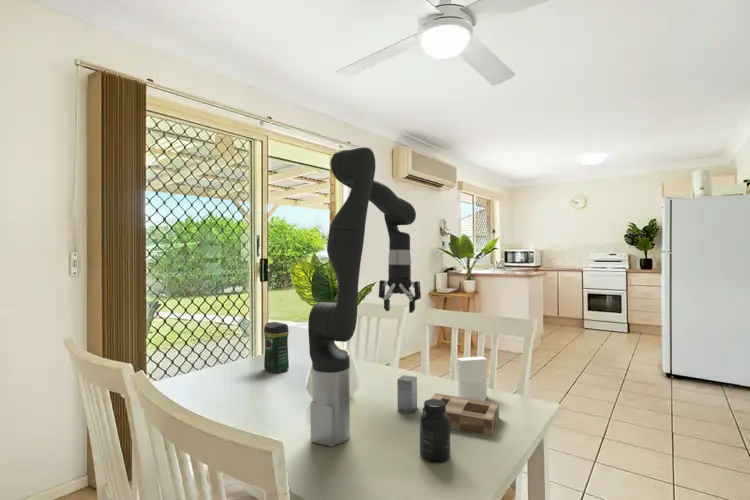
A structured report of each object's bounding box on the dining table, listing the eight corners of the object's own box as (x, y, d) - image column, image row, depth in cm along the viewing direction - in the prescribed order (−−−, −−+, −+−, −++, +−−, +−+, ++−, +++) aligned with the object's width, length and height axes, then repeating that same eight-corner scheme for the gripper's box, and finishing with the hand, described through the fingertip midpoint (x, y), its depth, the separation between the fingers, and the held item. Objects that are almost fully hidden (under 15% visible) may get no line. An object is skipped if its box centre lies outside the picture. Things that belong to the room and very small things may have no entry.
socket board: (491, 436, 96) (491, 420, 96) (422, 422, 104) (422, 408, 104) (498, 417, 107) (498, 403, 107) (435, 406, 115) (435, 393, 115)
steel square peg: (411, 413, 111) (411, 381, 111) (397, 410, 113) (397, 379, 113) (417, 407, 115) (416, 377, 115) (403, 405, 117) (403, 375, 117)
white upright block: (465, 403, 118) (464, 363, 118) (453, 392, 127) (452, 355, 127) (492, 400, 120) (491, 361, 120) (478, 390, 129) (478, 354, 129)
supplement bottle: (456, 461, 85) (455, 406, 85) (427, 466, 83) (427, 410, 83) (442, 446, 92) (441, 395, 92) (415, 451, 90) (414, 398, 90)
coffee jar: (292, 370, 152) (292, 322, 152) (274, 374, 146) (274, 325, 146) (278, 365, 158) (278, 319, 158) (260, 369, 153) (260, 322, 153)
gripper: (375, 263, 131) (375, 311, 130) (416, 263, 125) (415, 314, 124) (384, 263, 138) (384, 309, 137) (423, 263, 132) (423, 311, 131)
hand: (399, 311), depth 131 cm, fingers open, 8 cm apart
